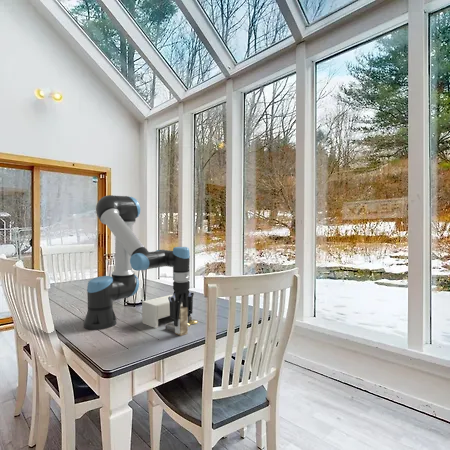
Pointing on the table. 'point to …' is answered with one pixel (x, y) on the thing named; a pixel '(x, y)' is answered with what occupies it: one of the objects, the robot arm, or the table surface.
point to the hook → (183, 322)
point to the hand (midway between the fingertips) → (181, 331)
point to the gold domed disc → (193, 321)
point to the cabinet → (155, 310)
